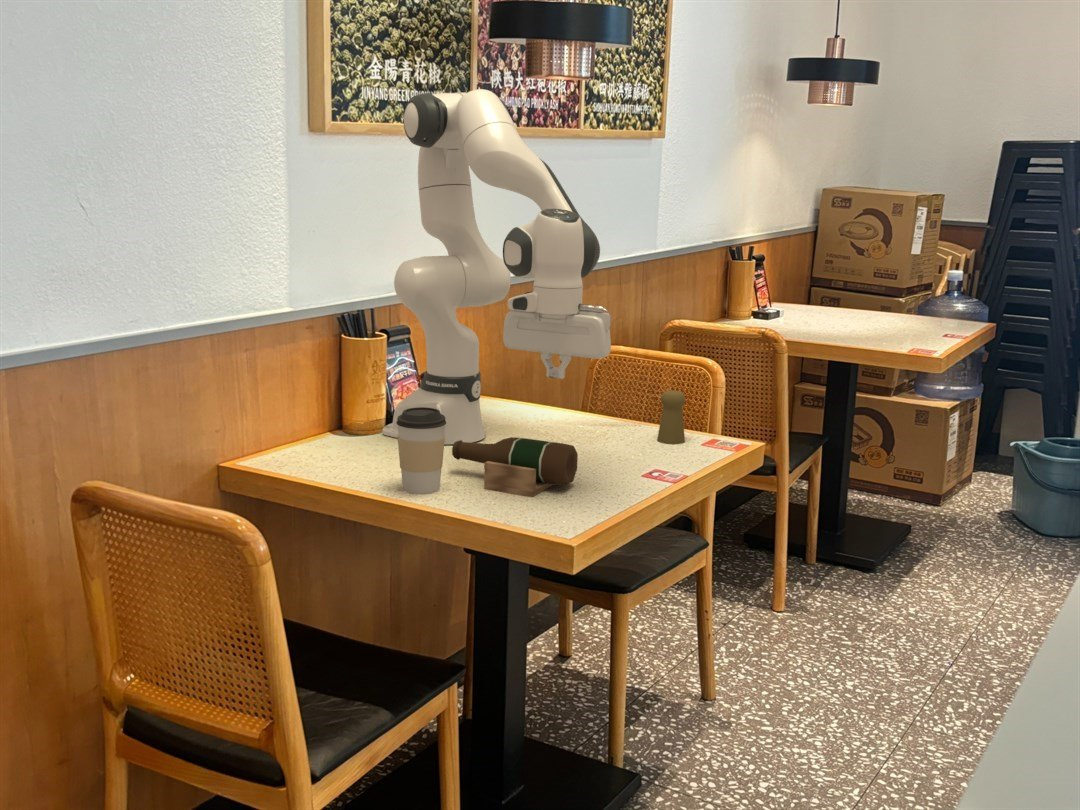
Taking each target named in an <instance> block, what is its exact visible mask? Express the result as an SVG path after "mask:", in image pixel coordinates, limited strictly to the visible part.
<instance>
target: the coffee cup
mask: <svg viewBox="0 0 1080 810" xmlns="http://www.w3.org/2000/svg"><path fill="white" fill-rule="evenodd" d="M396 424H397V425H398V438H397V444H398V445H397V446H398V457H399V458H398V459H399V468H400V471H401V472H400V473H401V484H402V490H403V492H405V493H408V494H413V495H428V494H433V493H434V494H435V493H436V492H438V491H440V489H441V478H442V477H441V476H442V468H443V463H444V462H443V461H444V451H445V445H444V441H445V435H444V432H445V424H446V421H445V416H444V415H442V414H441V413H440V411H439V410H438V409H435V408H427V407H417V408H409V409H406V410H404V411H403V413H402V415H400V416H398V418H397V422H396Z"/></svg>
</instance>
